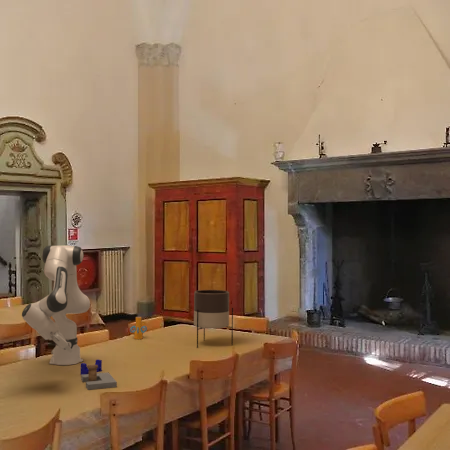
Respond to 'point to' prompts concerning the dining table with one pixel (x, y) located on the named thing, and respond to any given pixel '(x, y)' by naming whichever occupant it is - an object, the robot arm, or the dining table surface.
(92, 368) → the bobbin
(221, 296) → the planter
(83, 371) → the cable clip
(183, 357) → the dining table surface
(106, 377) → the notched board
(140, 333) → the orange post with rings
